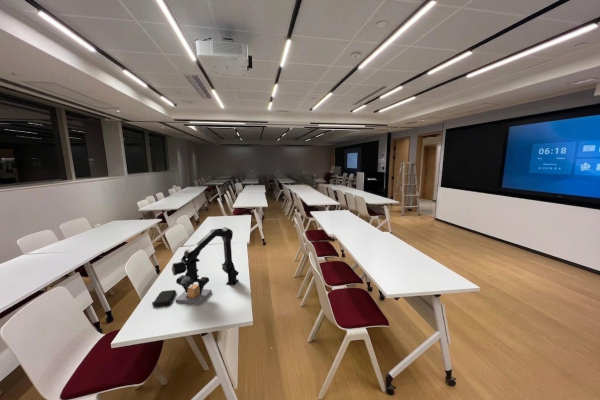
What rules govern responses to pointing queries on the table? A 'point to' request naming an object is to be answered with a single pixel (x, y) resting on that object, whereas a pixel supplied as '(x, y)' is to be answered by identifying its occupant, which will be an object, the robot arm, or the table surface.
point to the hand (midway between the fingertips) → (193, 292)
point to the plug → (193, 291)
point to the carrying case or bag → (164, 298)
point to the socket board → (198, 300)
